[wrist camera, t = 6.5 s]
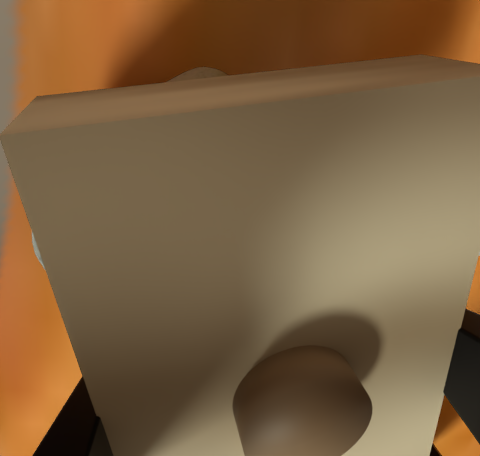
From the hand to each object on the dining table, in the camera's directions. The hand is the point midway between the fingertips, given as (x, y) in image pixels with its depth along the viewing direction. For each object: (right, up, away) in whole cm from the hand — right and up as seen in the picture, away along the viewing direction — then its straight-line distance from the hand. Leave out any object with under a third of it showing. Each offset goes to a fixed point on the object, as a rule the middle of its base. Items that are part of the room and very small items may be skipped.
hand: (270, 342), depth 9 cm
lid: (0, 0, +1) cm, 1 cm away
